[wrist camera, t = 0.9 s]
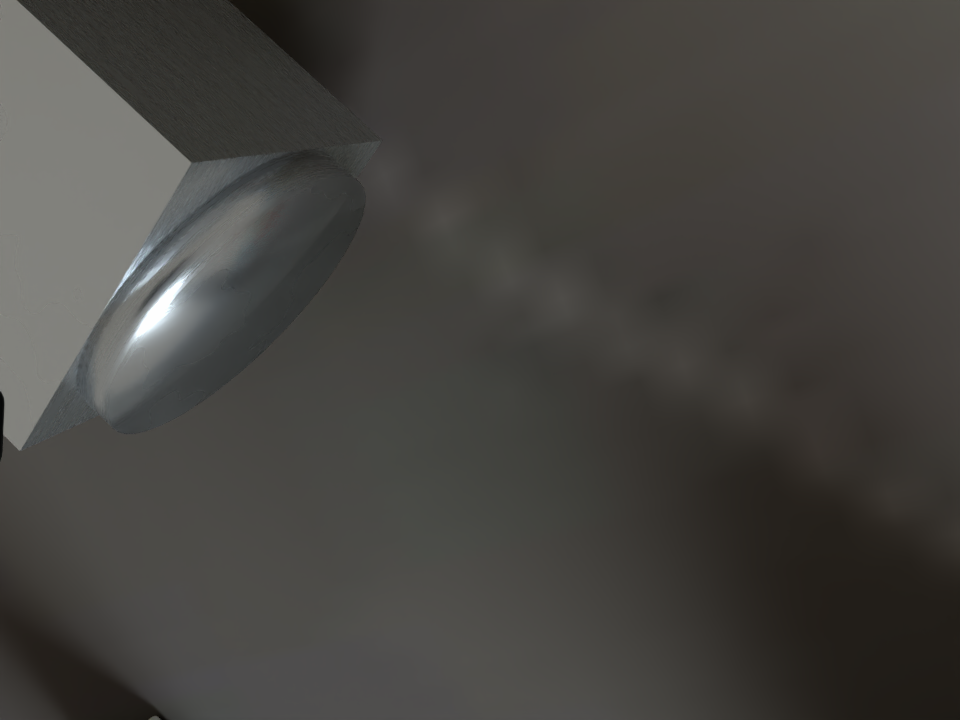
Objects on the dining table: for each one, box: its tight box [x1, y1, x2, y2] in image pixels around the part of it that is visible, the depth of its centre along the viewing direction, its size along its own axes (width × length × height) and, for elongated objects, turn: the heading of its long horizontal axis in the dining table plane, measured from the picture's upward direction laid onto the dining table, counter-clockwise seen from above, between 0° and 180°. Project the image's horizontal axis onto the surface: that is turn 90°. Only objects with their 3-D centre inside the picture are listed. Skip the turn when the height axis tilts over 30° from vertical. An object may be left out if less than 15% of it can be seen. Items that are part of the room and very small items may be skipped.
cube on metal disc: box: [0, 0, 383, 451], centre depth 18 cm, size 8×7×7 cm
